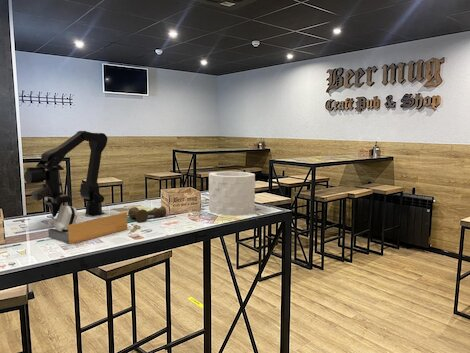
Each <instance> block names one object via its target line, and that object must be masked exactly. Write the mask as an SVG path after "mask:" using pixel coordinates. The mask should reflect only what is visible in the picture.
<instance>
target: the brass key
mask: <svg viewBox="0 0 470 353" xmlns="http://www.w3.org/2000/svg"><path fill="white" fill-rule="evenodd" d="M140 229H141V226H140V225H134V226H133V228H132V229H131V230H129V231H130V233H135V232H136V231H137V230H140Z"/></svg>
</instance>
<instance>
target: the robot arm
mask: <svg viewBox="0 0 470 353" xmlns="http://www.w3.org/2000/svg"><path fill="white" fill-rule="evenodd" d="M84 141H85V142H88V146H89V149H90V154H89V162H88V168H87V175H86V180H85V181H84V183H82V182H81V183H80V190H79V192H80V195H79V196H81V198H82V199H83V201H84V202H86V204H85V212H84V215H85V216H89V217H95V216H96V217H97V216H100V215H104V214H105V212H103V207H102V206H103V204H102V203H104V202H105V197H104V196H103V195H102V194H101V192H100V185H99V182H98V180H99V174H100V167H101V166H100V165H101V160H102V155H103V154H102V153H103V151H104V150H105V149H106V146H107V144H108V141H109V140H108V135H106V134H105V132H104V133H103V132H90V131H86V130H78V131H77V132H76V133H75V134H74V135H72V136H71V137H69V138H68V139H67V140H66V141H64V142H62V143H61V144H60V145H58V146H56V147H54V148H51V149H48V150H47V151H44V152H43V153H42V154H41V155H40V156H41V158H40V159H39V161H38V163H37V164H36V165H35V166H33V167H32V166H28V167H26V170H25V172H24V175H23V178H24V181H25V183H26V184H27V185H29V184H30V185H32V184H41V183H42V184H41V185H42V186H41V187H40V188H38V189H36V190H33V191H32V192H30V195H31V198H32V199H33V201H37V202H41V201H42V202H43V203H45V204H46V205H47V206H48V208H49V211H50V213H51V215H52V217H53V218H54V217H55V218H56V217H57V215H58V213H59V210H60V207H61V206H62V204H65V203H71V202H72V196H70V195H68V194H63V191H62V192H61V186H63V183H62V182H61V180H60V171H64V170H65V168H64V167H62V166H61V163H62V162H63V161H64V159H65V157H66V156H67V154H69V153H70V152H71V151H73V150H74V149H75V148H76V147H78V146H79V145H81V144H82V143H83V142H84ZM42 199H44V200H42Z"/></svg>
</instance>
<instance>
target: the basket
mask: <svg viewBox="0 0 470 353" xmlns="http://www.w3.org/2000/svg"><path fill="white" fill-rule="evenodd" d="M255 187H256V174H255V173H252V172H247V171H234V170H233V171H229V170H228V171H213V172H211V171H210V172H209V173H208V211H209V212H210V213H212V214H215V213H216V214H215V215H220V214H221V215H223V216H231V215H232V216H245V215H248V214H249V213H250V214H252V212H253V213H254V212H255V211H256V204H255V199H256V192H255ZM244 214H245V215H244ZM250 214H249V215H250Z"/></svg>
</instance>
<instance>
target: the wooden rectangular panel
mask: <svg viewBox="0 0 470 353" xmlns="http://www.w3.org/2000/svg"><path fill="white" fill-rule="evenodd" d="M127 215H128V211H127V212H126V211H125V212H121V213H120V212H119V213H116V214H111V215H106V216H102V217H97V218H93V219H87V220H84V221H80V222H76V223H75V224H70V225H68V229H67V232H64V231H63V230H62V231H59V230H57V229H56V228H48V237H49V238H50V239H53V240H56V241H60V242H63V243H65V244H69V245H73V244H77V243H81V242H84V241H88V240H92V239H96V238H99V237H102V236H103V237H104V236H107V235H111V234H114V233H118V232H122V231H126V230H128V217H127Z"/></svg>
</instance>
